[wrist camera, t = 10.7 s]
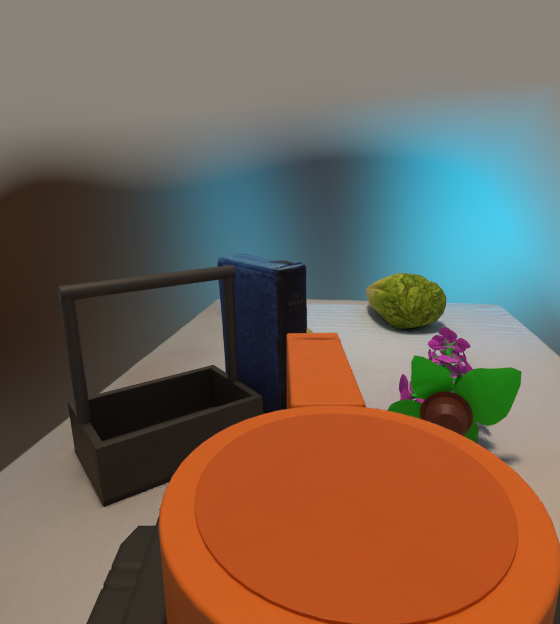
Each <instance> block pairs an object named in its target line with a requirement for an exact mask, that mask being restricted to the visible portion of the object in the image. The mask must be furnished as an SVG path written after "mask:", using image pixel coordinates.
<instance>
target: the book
mask: <svg viewBox="0 0 560 624" xmlns="http://www.w3.org/2000/svg"><path fill="white" fill-rule="evenodd" d="M229 265H233V266H234V267H235V269H236V275H235V277H234V291H235V315H236V339H237V363H238V381H239V382H241V383H242V384H244V385H246V386H247V387H249V388H250V389H252V390H253V391H255V392H256V393H258V394H259V395H261V396H262V403H263V412H264V413H265V414H266V413H270V412H274V411H279V410H285V409H287V334H288V333H307V306H306V266H305V264H304V263H301V262H288V261H278V260H272V259H266V258H261V257H257V256H252V255H248V254H233V255H231V256H226V257H221V258H219V259H218V267H220V266H229ZM219 287H220V300H221V312H222V323H223V339H224V352H225V368H226V373H227V374H228V369H227V348H226V327H225V306H224V285H223V279H219Z"/></svg>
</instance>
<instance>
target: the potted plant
mask: <svg viewBox="0 0 560 624" xmlns="http://www.w3.org/2000/svg"><path fill="white" fill-rule="evenodd" d="M439 334H440V335H442V336H439V335H436V336H434V337H433V338H432V340H430V341H429V342H428V345H429V347H430V348H432V349H434V350H435V351H436V350H440V352H441V354H442V356H437V355H436V353H435V351H434V352H433V351H432V355H431V350H430V349H429V352H428V355H429V360H428V359H426V358H424V357H420V356H414V358H413V360H412V362H411V363H412V375H411V382H410V385H409V389H410V391H411V393H410V392H409V390H408V380H407V378H406V376H405V375H404V374H403V375H402V376H401V379H400V383H399V391H400V393H401V399H400V400H401V401H398V402H395V403H393V404H392V405H391V406H390V407H389V409H388V411H391V412H396V413H400V414H404V415H408V416H412V417H415V418H419V419H422V420H425V421H428V422H431V423H434V424H437V425H439V426H441V427H444V428H446V429H449V430H451V431H454V432H456V433H458V434H460V435H462V436H464V437H466V438H468V439H470V440H472V441H473V442H475V443H477V436H478V425H477V423H476V422H479V423H481V424H484V425H486V426H489V425H493V424H496V423H498V422H499V421H501V420H502V419H503V418H505V417H506V416H507V414H508V412H509V411H510V409H511V407H512V404H513V402H514V400H515V397H516V395H517V392H518V390H519V387H520V383H521V371H519V370H516V369H514V368H499V369H485V368H478V369H472V368H471V366H470V365H469V364H468V363H467V361H466V356H465V354H464V351H465V350H466V348H470V347H471V346H470V345H469V343H468V342H467V341H466V340H464V339H462V338H459V339H458V340H456V338H457V335H456V333H455V332H453V331H451V330H450V329H448V328H446V327H444V328H442V329H440V330H439ZM453 349H454V350H453ZM457 351H458V352H457ZM459 352H460V353H462V352H463V355H460V354H459ZM462 361H463V362H465V366H466V367H465V366H463V364H462V363H461V362H462ZM456 362H458V363H457V364H455V365H454V366H453V365H451V363H456ZM442 364H444V365H443V366H442ZM461 365H462V366H461ZM455 366H457V367H455ZM451 371H452V372H453V373H456V374H458V375H457V376H455V375H451V374H452V373H451ZM454 380H455V382H454V384H453V381H454ZM452 387H454V389H452ZM451 391H453V393H452V392H451ZM415 398H417V399H416V400H415V401H414V400H412V399H415Z"/></svg>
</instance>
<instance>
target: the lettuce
mask: <svg viewBox="0 0 560 624" xmlns="http://www.w3.org/2000/svg"><path fill="white" fill-rule="evenodd" d="M366 296H367V299H368V302H369V303H370V305H371V307H372V308H373V309H374V310H376V311H377V312H378V313H379V315H381V316H382V317H383V318H384V319H385V320H386V321H387V322H388V323H390V324H391V325H392V326H393V327H395V328H397V329H406V328H414V327H420V326H425V325H429V324H431V323H433V322H435V321H437V320H438V319H439V318H440V317H441V315H442V314H443V313H444V310H445V307H446V296H445V294H444V292H443V290H442V289H441V288H440V287H439V285H438V284H437V283H434V282H430V281H429V280H427V279H426V278H424V277H423V276H420V275H415V274H406V273H399V274H395V275H391V276H389V277H386V278H384V279H381V280H379V281H377V282H375V283H374V284H372V285H370V286H369V287H367V290H366Z"/></svg>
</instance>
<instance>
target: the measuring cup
mask: <svg viewBox="0 0 560 624" xmlns="http://www.w3.org/2000/svg"><path fill="white" fill-rule="evenodd" d="M158 529H159V540H160V551H161V562H162V573H163V584H164V595H165V606H166V616H167V624H553V620H554V615H555V609H556V604H557V599H558V593H559V588H560V544H559V541H558V538H557V535H556V532H555V529H554V526H553V523H552V520H551V518H550V516H549V515H548V513H547V511H546V509H545V507H544V505H543V503H542V502H541V501H540V499H539V498H538V497H537V495H536V494H535V492H534V491H533V490H532V488H531V487H530V486H529V485H528V484H527V483H526V482H525V481H524V480H523V479H522V478H521V477H520V476H519V474H518V473H516V472H515V471H514V470H513V469H512V468H511V467H509V466H508V465H507V464H506V463H505V462H504V461H502V460H501V459H500V458H498V457H497V456H495V455H494V454H492V453H491V452H490V451H488V450H487V449H485V448H483V447H482V446H480V445H478V444H477V443H475V442H473V441H472V440H470V439H468V438H466V437H464V436H462V435H460V434H458V433H456V432H454V431H451V430H449V429H446V428H444V427H441V426H439V425H437V424H434V423H431V422H428V421H425V420H422V419H419V418H415V417H412V416H408V415H404V414H400V413H396V412H391V411H386V410H380V409H373V408H366V405H365V402H364V400H363V397H362V395H361V392H360V390H359V387H358V385H357V382H356V380H355V377H354V375H353V372H352V370H351V367H350V365H349V362H348V360H347V357H346V355H345V352H344V350H343V347H342V345H341V341H340V339H339V336H338V334H337V333H288V334H287V409H285V410H279V411H274V412H270V413H266V414H262V415H259V416H256V417H253V418H250V419H246V420H244V421H242V422H239V423H237V424H234V425H232V426H230V427H228V428H226V429H224V430H222V431H220V432H218V433H217V434H215V435H214V436H212V437H211V438H209V439H208V440H206V441H204V442H203V443H202V444H201V445H200V446H198V447H197V448H196V449H195V450H194V451H192V452H191V453H190V454H189V456H188V457H187V458H186V459H185V460H184V461H183V462H182V463H181V464H180V466H179V467H178V469H177V470H176V472H175V473H174V475H173V476H172V478H171V480H170V482H169V484H168V486H167V488H166V491H165V493H164V496H163V500H162V504H161V507H160V513H159V527H158Z"/></svg>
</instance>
